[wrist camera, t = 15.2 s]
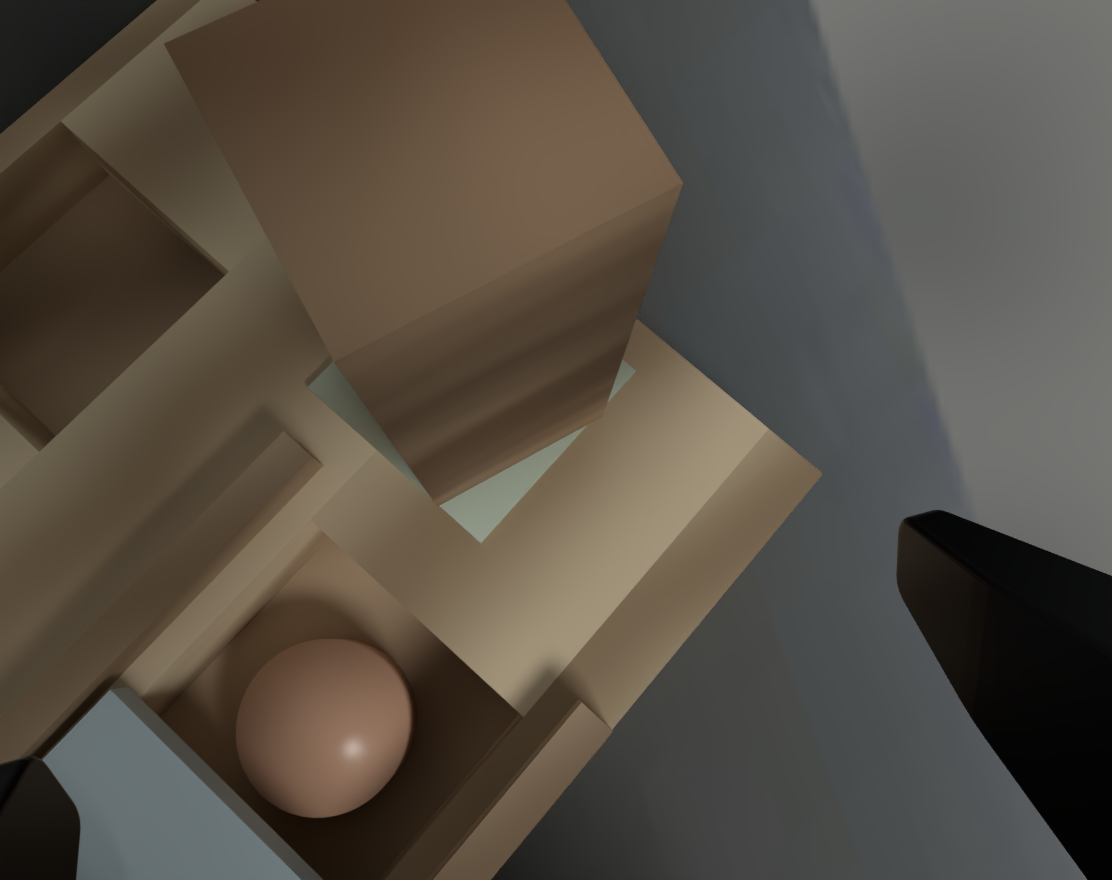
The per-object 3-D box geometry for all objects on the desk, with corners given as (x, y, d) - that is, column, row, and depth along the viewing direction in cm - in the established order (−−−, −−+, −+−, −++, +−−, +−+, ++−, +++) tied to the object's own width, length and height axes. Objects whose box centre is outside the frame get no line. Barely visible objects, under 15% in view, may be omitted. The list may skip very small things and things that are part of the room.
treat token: (449, 709, 20) (443, 715, 19) (340, 840, 19) (326, 856, 18) (332, 605, 20) (319, 603, 19) (222, 730, 20) (199, 738, 18)
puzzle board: (783, 495, 22) (838, 465, 18) (192, 1206, 18) (100, 1363, 14) (244, 40, 24) (189, -74, 20) (-377, 592, 20) (-590, 582, 17)
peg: (602, 416, 19) (682, 182, 9) (437, 506, 18) (333, 361, 9) (512, 264, 20) (497, -106, 10) (350, 346, 19) (164, 43, 9)
